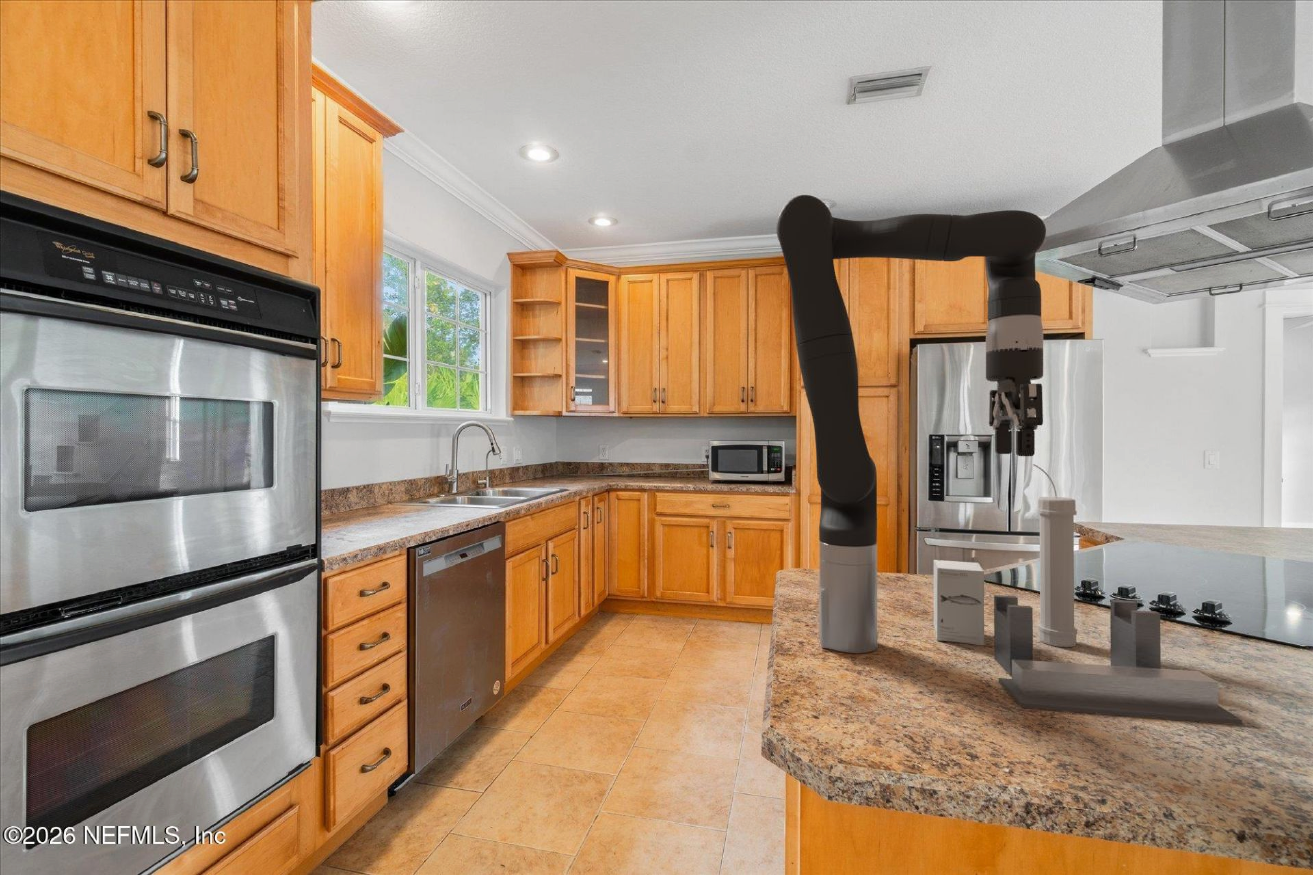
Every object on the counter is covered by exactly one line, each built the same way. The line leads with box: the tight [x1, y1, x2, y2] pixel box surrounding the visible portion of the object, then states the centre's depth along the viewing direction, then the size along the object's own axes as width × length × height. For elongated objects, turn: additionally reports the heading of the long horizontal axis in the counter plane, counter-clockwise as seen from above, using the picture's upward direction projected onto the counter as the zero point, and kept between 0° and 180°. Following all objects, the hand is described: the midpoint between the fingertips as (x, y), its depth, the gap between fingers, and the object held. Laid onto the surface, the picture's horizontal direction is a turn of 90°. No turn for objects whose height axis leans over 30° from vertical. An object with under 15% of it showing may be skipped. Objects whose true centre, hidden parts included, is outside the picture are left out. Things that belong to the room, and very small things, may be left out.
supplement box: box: [933, 559, 985, 647], centre depth 102 cm, size 7×7×13 cm
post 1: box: [993, 594, 1034, 677], centre depth 88 cm, size 3×6×10 cm, turn 168°
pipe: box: [1032, 463, 1078, 648], centre depth 99 cm, size 6×6×30 cm
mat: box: [998, 677, 1243, 726], centre depth 77 cm, size 24×8×1 cm, turn 78°
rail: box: [1011, 659, 1219, 710], centre depth 77 cm, size 22×4×4 cm, turn 78°
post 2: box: [1109, 599, 1162, 669], centre depth 85 cm, size 3×6×10 cm, turn 168°
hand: (1013, 454), depth 90 cm, fingers open, 8 cm apart
